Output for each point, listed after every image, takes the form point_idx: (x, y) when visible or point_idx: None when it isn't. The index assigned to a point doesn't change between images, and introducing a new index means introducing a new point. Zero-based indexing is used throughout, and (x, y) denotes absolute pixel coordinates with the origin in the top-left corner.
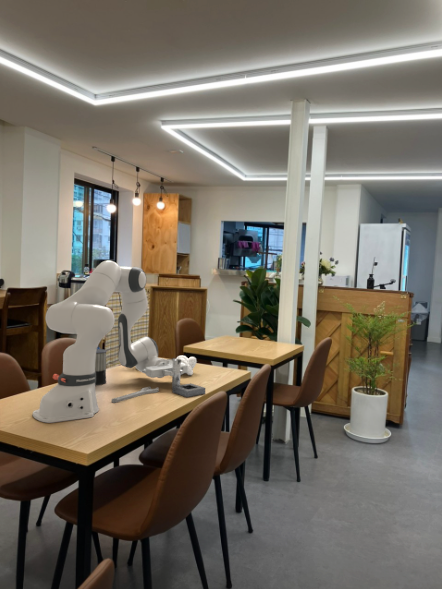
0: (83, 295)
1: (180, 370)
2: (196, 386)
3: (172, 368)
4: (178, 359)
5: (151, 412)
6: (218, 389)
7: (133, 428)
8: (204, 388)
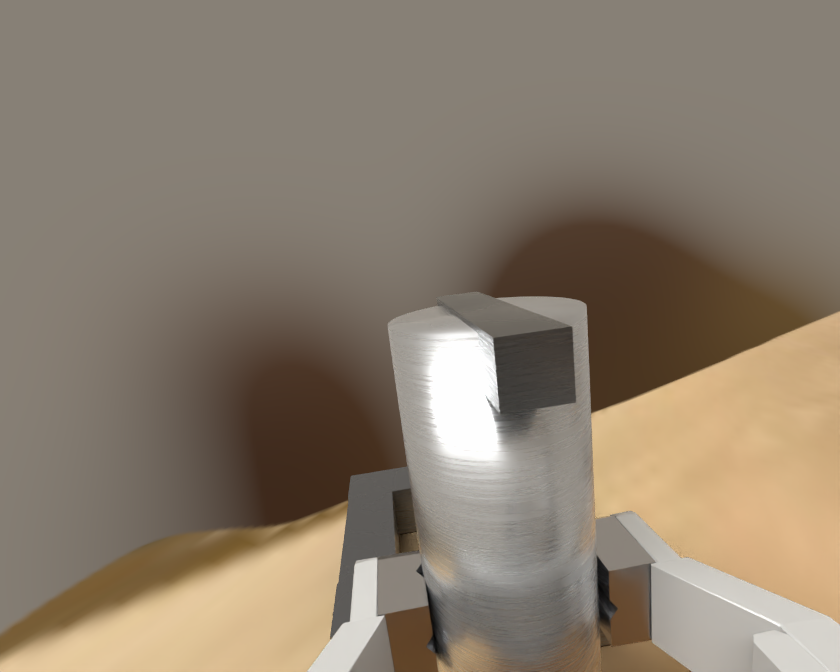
0: None
1: (406, 563)
2: (379, 515)
3: (594, 523)
4: (456, 304)
5: (764, 385)
6: (169, 573)
7: (796, 335)
8: (361, 477)
